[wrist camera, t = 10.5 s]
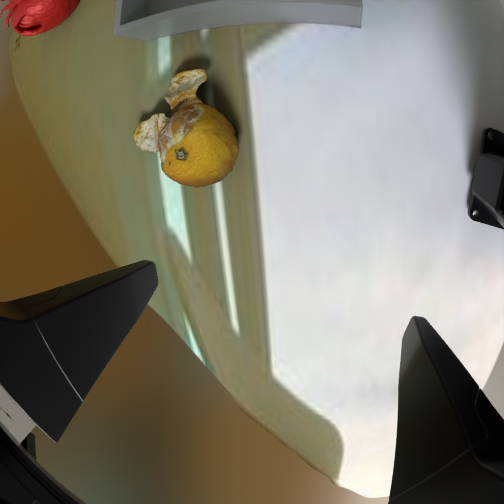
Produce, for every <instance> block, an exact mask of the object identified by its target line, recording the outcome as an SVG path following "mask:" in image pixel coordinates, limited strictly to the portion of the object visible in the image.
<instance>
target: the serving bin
mask: <svg viewBox="0 0 504 504" xmlns="http://www.w3.org/2000/svg"><path fill="white" fill-rule="evenodd" d="M361 20H362V0H117V3H116V11H115V21H114V33H113V35H115V36H122V37H129V38H135V39H140V40H146V41H148V40H152V39H156V38H160V37H165V36H169V35H174V34H179V33H184V32H189V31H195V30H201V29H208V28H215V27H223V26H232V25H244V24H259V23H314V24H329V25H340V26H349V27H357V28H361Z"/></svg>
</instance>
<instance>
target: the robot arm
mask: <svg viewBox="0 0 504 504" xmlns="http://www.w3.org/2000/svg"><path fill="white" fill-rule="evenodd" d="M489 132H490V133H491V138H490V139H489V137H488V133H489ZM471 190H472V196H471V200H470V204H469V208H468V216H469V217H470V218H471V219H472V220H474V221H477V222H481V223H484V224H488V225H491V226H494V227H498V228H501V229H504V133H502V132H499V131H497V130H494V129H492V128H485V129H484V130H483V134H482V142H481V149H480V153H479V154H478V155H477V161H476V166H475V172H474V177H473V182H472V187H471ZM475 210H476V214H475V215H473V211H475ZM157 286H158V276H157V270H156V265H155V263H154V262H152V261H148V260H142V261H139V262H136V263H133V264H129V265H126V266H123V267H120V268H117V269H114V270H110V271H107V272H104V273H101V274H97V275H95V276H92V277H88V278H85V279H82V280H79V281H76V282H73V283H70V284H66V285H64V286H60V287H57V288H54V289H51V290H48V291H45V292H41V293H38V294H34V295H30V296H27V297H23V298H19V299H15V300H12V301H7V302H0V504H86V503H85V502H84V501H82V500H81V499H80V498H79V497H77V496H76V495H75V494H73V493H72V492H71V491H70V490H68V489H67V488H66V487H65V486H64V485H62V484H61V483H60V482H59V481H58V480H56V479H55V478H54V477H53V476H52V475H51V474H50V473H49V472H48V471H47V470H46V469H45V468H43V467H42V466H41V465H40V464H39V463H38V462H37V461H36V451H35V436H34V434H32V433H31V430H32V429H33V428H34V427H35V425H37V426H38V427H39V428H40V429H41V430H42V431H43V432H44V433H45V434H46V435H47V436H49V437H50V438H51V439H52V440H53V441H54V442H55V443H57V442H58V441H59V440H60V438H61V436H62V435H63V433H64V431H65V430H66V428H67V426H68V425H69V423H70V422H71V420H72V418H73V417H74V415H75V413H76V412H77V410H78V409H79V407H80V405H81V404H82V402H83V400H84V399H85V397H86V396H87V394H88V392H89V391H90V389H91V388H92V386H93V385H94V383H95V382H96V380H97V379H98V377H99V376H100V374H101V373H102V371H103V370H104V368H105V367H106V365H107V363H108V362H109V361H110V359H111V358H112V356H113V355H114V353H115V352H116V350H117V349H118V347H119V346H120V345H121V343H122V342H123V340H124V339H125V337H126V336H127V335H128V333H129V332H130V330H131V329H132V327H133V326H134V325H135V323H136V322H137V320H138V319H139V317H140V316H141V314H142V312H143V311H144V308H145V307H146V305H147V304H148V302H149V300H150V298H151V297H152V295H153V293H154V291H155V290H156V288H157ZM388 504H504V419H503V418H502V417H501V416H500V414H499V413H498V412H497V410H496V409H495V408H494V407H493V405H492V404H491V402H490V401H489V400H488V398H487V397H486V396H485V394H484V393H483V391H482V390H481V389H479V386H478V384H477V383H476V382H475V380H474V379H473V378H472V376H471V375H470V374H469V372H468V371H467V370H466V368H465V367H464V366H463V364H462V363H461V362H460V360H459V359H458V358H457V357H456V355H455V354H454V353H453V351H452V350H451V349H450V348H449V346H448V345H447V344H446V343H445V342H444V340H443V339H442V338H441V337H440V335H439V334H438V333H437V332H436V331H435V329H434V328H433V327H432V326H431V325H430V323H429V322H428V321H427V320H426V319H425V318H424V317H419V316H413V317H412V318H411V320H410V322H409V324H408V326H407V329H406V331H405V333H404V335H403V339H402V349H401V362H400V372H399V385H398V422H397V438H396V450H395V460H394V469H393V476H392V483H391V490H390V496H389V502H388Z"/></svg>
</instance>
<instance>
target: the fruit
mask: <svg viewBox="0 0 504 504" xmlns="http://www.w3.org/2000/svg"><path fill="white" fill-rule="evenodd" d="M206 80H207V73H206V71H205V70H203V69H195V70H191V71H190V70H186V71H183V72H180V73H178V74H176V75H175V76H173V78H172V82H171V85H170V87H169V93H168V95H167V96H165V99H166V100H167V102H168V103H169V105H170V108H171V110H172V111H173V116H172V117H171V118H167V117H165V115H164V113H163V114H155V115H152V117H151V118H150V119H148V120H146V121H144V122H140V123H138V125H137V127H136V130H135V131H134V133H133V134H134V139H135V141H136V145H137V146H138V147H139V148H140V149H142V150H144V151H149V152H154V153H155V152H158V151H159V152H160V159H161V167H162V170H163V172H164V173H165V174H166V175H167V176H168V177H169V178H170V179H172V180H174V181H176V182H178V183H179V184H182V185H189V186H193V187H201V186H202V187H204V186H207V185H210V184H214V183H217V182H219V181H221V180H222V179H223V178H224V177H226V176H227V174H228V173H230V172H231V171H232V168H233V165H235V161H236V158H237V155H238V152H239V146H238V141H237V138H236V137H235V135H234V134H235V129H234V127H233V126H232V124H231V122H230V121H228V120H227V119H226V118H225V117H224V115H223V114H221V113H219V112H218V110H217V109H216V108H214V107H212V106H208V105H204V104H203V103H202V101H201V100H200V99H199V98H198V97H197V96H196V91H197V88H198V86H199V85H200V84H201V83H203V82H205V81H206Z"/></svg>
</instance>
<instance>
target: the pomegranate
mask: <svg viewBox="0 0 504 504" xmlns="http://www.w3.org/2000/svg"><path fill="white" fill-rule="evenodd" d="M1 1H5V0H1ZM78 2H79V0H9V4H7V5H6V6H5V7H4V8H3V9H2V12H3V11H5V10H6V9H9V15H8V16H7V18H6V24H7V28H9V18H10V17H11V21H12V26H13V28H14V29H15V31H16V32H17V33H18V34H20V35H23V36H33V35H37V34H41V33H44V32H46V31H48V30H51V29H53V28H55V27H57V26H58V25H60V24H61V23H62V22H63V21H64V20H65V19H67V18H68V17H69V16H70V14H71V13H72V12H73V11H74V9H75V8H76V6H77V5H78ZM2 12H1V14H2ZM0 16H1V15H0Z"/></svg>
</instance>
